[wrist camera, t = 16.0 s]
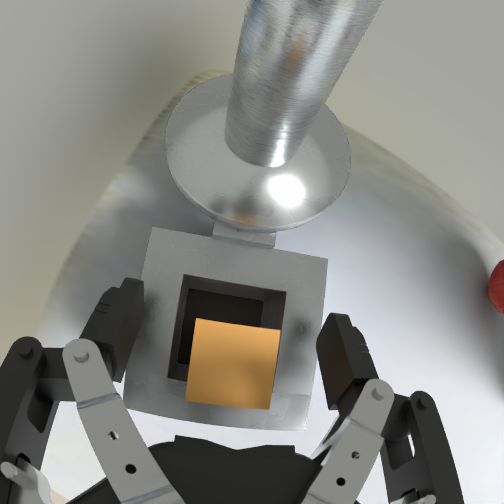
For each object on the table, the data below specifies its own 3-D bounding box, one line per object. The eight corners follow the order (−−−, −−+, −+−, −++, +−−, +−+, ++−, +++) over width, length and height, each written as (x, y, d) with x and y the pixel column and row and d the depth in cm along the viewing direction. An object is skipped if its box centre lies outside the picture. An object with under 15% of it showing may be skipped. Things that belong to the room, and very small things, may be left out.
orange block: (244, 327, 19) (280, 330, 10) (238, 372, 18) (269, 409, 9) (199, 320, 18) (196, 318, 10) (192, 365, 18) (185, 400, 9)
